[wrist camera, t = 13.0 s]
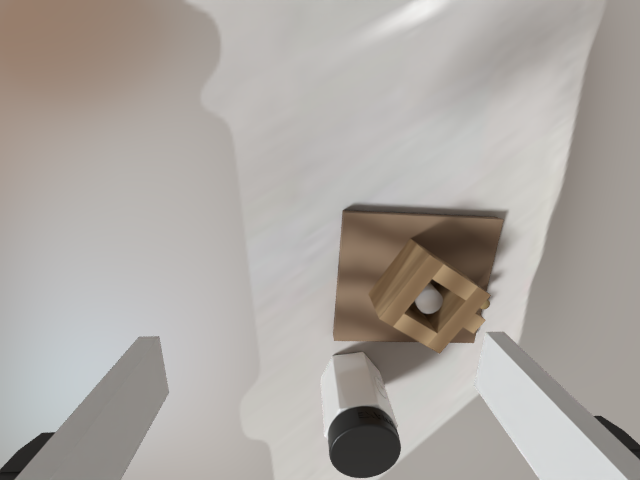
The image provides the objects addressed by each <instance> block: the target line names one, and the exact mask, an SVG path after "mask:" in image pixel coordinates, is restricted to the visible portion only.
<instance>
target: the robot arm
mask: <svg viewBox="0 0 640 480" xmlns="http://www.w3.org/2000/svg"><path fill="white" fill-rule="evenodd" d="M474 386H475V388H476V389H477V391H478V392H479V394H480V395H481V396H482V398H483V399H484V401H485V402H486V403H487V405H488V406H489V408H490V409H491V411H492V412H493V414H494V415H495V416H496V418H497V419H498V421H499V422H500V424H501V425H502V426H503V428H504V429H505V431H506V432H507V434H508V435H509V436H510V438H511V439H512V441H513V442H514V443H515V445H516V446H517V448H518V449H519V451H520V452H521V454H522V455H523V456H524V458H525V459H526V461H527V462H528V464H529V465H530V466H531V468H532V469H533V471H534V472H535V474H536V475H537V476H538V478H539V479H540V480H640V445H639V444H638V443H637V442H636V441H635V440H634V439H632V438H631V437H630V436H629V435H628V434H627V433H626V432H625V431H623V430H622V429H620V428H619V427H617V426H616V425H614V424H612V423H611V422H609V421H608V420H606V419H605V418H603V417H602V416H593V415H591V414H590V413H589V412H588V411H587V410H586V409H585V408H584V407H583V406H582V405H581V404H580V403H579V402H577V400H575V398H573V397H572V396H571V395H570V394H569V393H568V392H567V391H566V390H565V389H564V388H563V387H562V386H561V385H560V384H559V383H558V382H557V381H555V380H554V379H553V378H552V377H551V376H550V375H549V374H548V373H547V372H546V371H544V369H543V368H542V367H541V366H539V365H538V364H537V363H536V362H535V361H534V360H533V359H532V358H531V357H530V356H529V355H528V354H527V353H526V352H525V351H523V350H522V349H521V348H520V347H519V346H518V345H517V344H516V343H515V342H514V341H513V340H512V339H511V338H510V337H509V336H508V335H507V334H506V333H504V332H486V333H485V338H484V342H483V347H482V351H481V356H480V360H479V365H478V369H477V374H476V379H475V383H474ZM168 393H169V390H168V384H167V378H166V373H165V367H164V362H163V355H162V350H161V344H160V338H159V336H158V337H157V336H155V337H138V338H137V340H136V341H135V342H134V343H133V344H132V345H131V347H130V348H129V349H128V350H127V351H126V352H125V354H124V355H123V356H122V357H121V358H120V359H119V360H118V362H117V363H116V364H115V365H114V366H113V367H112V369H110V371H109V372H108V373H107V374H106V375H105V376H104V377H103V379H102V380H101V381H100V382H99V383H98V384H97V385H96V387H95V388H94V389H93V390H92V391H91V392H90V394H89V395H88V396H87V397H86V398H85V399H84V400H83V402H82V403H81V404H80V405H79V406H78V408H76V410H75V411H74V412H73V413H72V414H71V415H70V416H69V418H68V419H67V420H66V421H65V422H64V423H63V425H62V426H61V427H60V428H59V429H58V430H57V431H56V432H52V433H41V434H40V435H39V436H37V437H36V438H35V439H33V440H32V441H30V442H29V443H28V444H26V445H25V446H24V447H22V448H21V449H20V450H18V451H17V452H16V453H15V454H14V456H13V457H12V458H11V459H10V460H9V461H8V462H7V463H6V464H5V465H4V466H3V467H2V468H1V469H0V480H121V478H122V476H123V475H124V473H125V471H126V469H127V467H128V466H129V464H130V462H131V460H132V459H133V457H134V455H135V453H136V451H137V449H138V448H139V446H140V444H141V442H142V440H143V439H144V437H145V435H146V433H147V431H148V430H149V428H150V426H151V424H152V422H153V421H154V419H155V417H156V415H157V413H158V411H159V410H160V408H161V406H162V404H163V402H164V401H165V399H166V397H167V395H168Z"/></svg>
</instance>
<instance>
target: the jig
mask: <svg viewBox="0 0 640 480" xmlns="http://www.w3.org/2000/svg"><path fill="white" fill-rule="evenodd" d="M502 224H503V219H501V218H498V217H486V216H463V215H440V214H418V213H395V212H372V211H350V210H343V214H342V227H341V240H340V252H339V265H338V278H337V291H336V304H335V317H334V329H333V337H334V341H381V342H419V341H417V340H415V339H413V338H412V337H410V336H408V335H406V334H405V333H403V332H401V331H400V330H398V329H396V328H394V327H393V326H391V325H389V324H387V323H386V322H384V321H382V320H380V319H379V317H378V315H377V313H376V310H375V308H374V306H373V304H372V301H371V299H370V297H369V295H368V293H369V292H370V291H371V289H372V288H373V287H374V285H375V284H376V283H377V281H378V280H379V279H380V278H381V276H382V275H383V274H384V272H385V271H386V270H387V268H388V267H389V266H390V264H391V263H392V262H393V260H394V259H395V258H396V256H397V255H398V254H399V253H400V251H401V250H402V249H403V247H404V246H405V245H406V243H407V242H408V241H409V239H412V240H413V241H415V242H416V243H418V244H419V245H421V246H422V247H424V248H425V249H427V250H428V251H430V252H431V253H433V254H434V255H436V256H437V257H439V258H440V259H442V260H443V261H445V262H446V263H448V264H449V265H451V266H452V267H454V268H455V269H457V270H458V271H460V272H461V273H463V274H464V275H466V276H467V277H468V278H469V279H471V280H472V281H473V282H475V283H476V284H477V285H478V286H480V287H481V288H482V289H483V290H485V291H487V286H488V282H489V278H490V274H491V270H492V266H493V262H494V257H495V253H496V249H497V245H498V241H499V237H500V233H501V229H502ZM437 284H438V282H436V281H435V280H433V279H432V280H431V281H430V282H429V283H428V285H427V286H426V287H425V288H424V289H423V291H422V292H421V293H420V294H419V296H418V297H417V298H416V299H415V301H414V302H413V304H414V305H416V306H417V307H418V309H419V310H420V311H421V312H423V313H426V314H430V313H434V312H436V311H437V310H439V309H440V307H441V306H442V303H443V298H442V295H441V294H440V293H439V292H438V291H437V290H436V289H435V288H434V287H435V286H436V285H437ZM489 305H490V302H489V300H486V302H485V303H484V304H483V305H482V306H481V307H480V308H479V309H478V311H477V312H478V313H479V314H480V315H481V311H482V309H487V308H488V307H489ZM476 332H477V330H476V331H475V333H474V334H473V333H472V332H470V331H468V330H467V329H465V328H462V329H461V330H460V331H459V332H458V333H457V334H456V336H455V337H454V338H453V339H452V340H451V341H450V342H449V343H474V340H475V336H476Z"/></svg>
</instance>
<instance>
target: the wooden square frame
mask: <svg viewBox="0 0 640 480" xmlns="http://www.w3.org/2000/svg"><path fill="white" fill-rule="evenodd" d="M432 279H433V280H435V281H436V282H438V284H437V285H436V286H435V287H434V288H435V289H436V290H437V291H438V292H439V293H440V294H441V295H442V298H443V303H442V306H441V307H440V309H439V310H437V311H436V312H434V313H430V314H426V313H423V312H421V311H420V310H419V309H418V307H417V306H416V305H414V304H413V302H414V301H415V299H416V298H417V297H418V296H419V294H420V293H421V292H422V291H423V289H424V288H425V287H426V286H427V285H428V283H429V282H430V281H431V280H432ZM368 295H369V297H370V299H371V301H372V304H373V306H374V308H375V310H376V313H377V315H378V317H379V319H380V320H382V321H384V322H386V323H387V324H389V325H391V326H393V327H394V328H396V329H398V330H400V331H401V332H403V333H405V334H406V335H408V336H410V337H412V338H413V339H415V340H417V341H419V342H420V343H422V344H424V345H426V346H427V347H429V348H431V349H432V350H434V351H436V352H438V353H439V354H440V353H441V351H442V350H443V349H444V348H445V347H446V346H447V345H448V343H449V342H450V341H451V340H452V339H453V338H454V337H455V336H456V334H457V333H458V332H459V331H460V330H461V329H462V328H465V329H467V330H468V331H470V332H472V333H473V334H474V333H475V331H476V330H477V329H478V328H479V327H480V326H481V325H482V324H483V323H484V321H485V319H484V318H483V317H482V316H481V315H480V314H479V313H478V312H477V311H478V309H479V308H480V307H481V306H482V305H483V304H484V303H485V302H486V300H487V299H488V298H489V297H490V296H491V295H490V294H489V293H487V292H486V291H485V290H483V289H482V288H481V287H480V286H478V285H477V284H476V283H475V282H473V281H472V280H471V279H469V278H468V277H467V276H466V275H464V274H463V273H461V272H460V271H458V270H457V269H455V268H454V267H452V266H451V265H449V264H448V263H446V262H445V261H443V260H442V259H440V258H439V257H437V256H436V255H434V254H433V253H431V252H430V251H428V250H427V249H425V248H424V247H422V246H421V245H419V244H418V243H416V242H415V241H413V240H412V239H409V241H408V242H407V243H406V245H405V246H404V247H403V249H402V250H401V251H400V253H399V254H398V255H397V256H396V258H395V259H394V260H393V262H392V263H391V264H390V266H389V267H388V268H387V270H386V271H385V272H384V274H383V275H382V276H381V278H380V279H379V280H378V281H377V283H376V284H375V285H374V287H373V288H372V289H371V291H370V292H369V293H368Z"/></svg>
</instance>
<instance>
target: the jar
mask: <svg viewBox="0 0 640 480" xmlns="http://www.w3.org/2000/svg"><path fill="white" fill-rule="evenodd" d="M320 382H321V396H322V411H323V426H324V436H325V437H326V438H327V439H328V444H329V455H330V460H331V462H332V464H333V466H334V467H335V468H336V469H337V470H338V471H339V472H341V473H343V474H345V475H347V476H350V477H355V478H368V477H373V476H376V475H379V474H381V473H383V472H385V471H387V470H388V469H390V468H391V467H392V466H393V465H394V464H395V462H396V461H397V459H398V457H399V455H400V451H401V445H400V440H399V435H398V432H397V429H396V428H397V427H398V425H397V422H396V419H395V416H394V413H393V410H392V407H391V404H390V401H389V398H388V395H387V392H386V389H385V386H384V383H383V380H382V377H381V374H380V372H379V370H378V369H377V368H376V367H375V365H374V364H373V363H372V362H371V361H370V360H369V358H368V357H367V356H366V355H365V354H364V352H358V353H350V354H342V355H334V356H332V358H331V360H330V362H329V363H328V365H327V367H326V369H325V371H324V373H323V375H322V377H321V379H320Z"/></svg>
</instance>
